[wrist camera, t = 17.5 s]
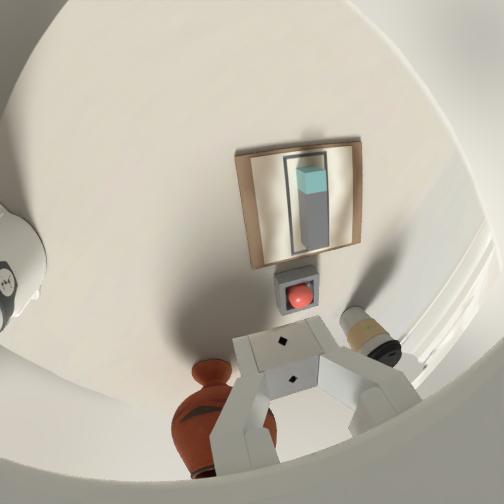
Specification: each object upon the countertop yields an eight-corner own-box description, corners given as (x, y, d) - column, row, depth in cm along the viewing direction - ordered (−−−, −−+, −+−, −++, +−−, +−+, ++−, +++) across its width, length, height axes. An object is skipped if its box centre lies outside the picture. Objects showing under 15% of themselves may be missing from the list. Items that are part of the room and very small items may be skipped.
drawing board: (251, 267, 45) (253, 270, 44) (234, 156, 36) (235, 157, 35) (358, 240, 47) (360, 243, 46) (358, 141, 38) (362, 142, 38)
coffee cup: (367, 293, 54) (407, 338, 42) (368, 321, 59) (402, 365, 46) (329, 311, 54) (364, 363, 41) (333, 338, 59) (363, 387, 46)
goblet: (268, 374, 60) (302, 467, 38) (198, 402, 60) (213, 491, 38) (232, 327, 50) (266, 449, 28) (150, 362, 50) (152, 475, 29)
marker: (319, 238, 44) (327, 246, 41) (301, 242, 43) (309, 251, 41) (315, 165, 38) (325, 170, 35) (295, 168, 38) (304, 173, 35)
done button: (286, 301, 48) (291, 310, 46) (285, 284, 46) (290, 292, 44) (307, 296, 49) (312, 304, 46) (307, 278, 47) (313, 286, 44)
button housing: (276, 305, 50) (281, 315, 47) (273, 274, 46) (279, 284, 44) (312, 295, 51) (318, 305, 48) (311, 264, 47) (318, 273, 45)
